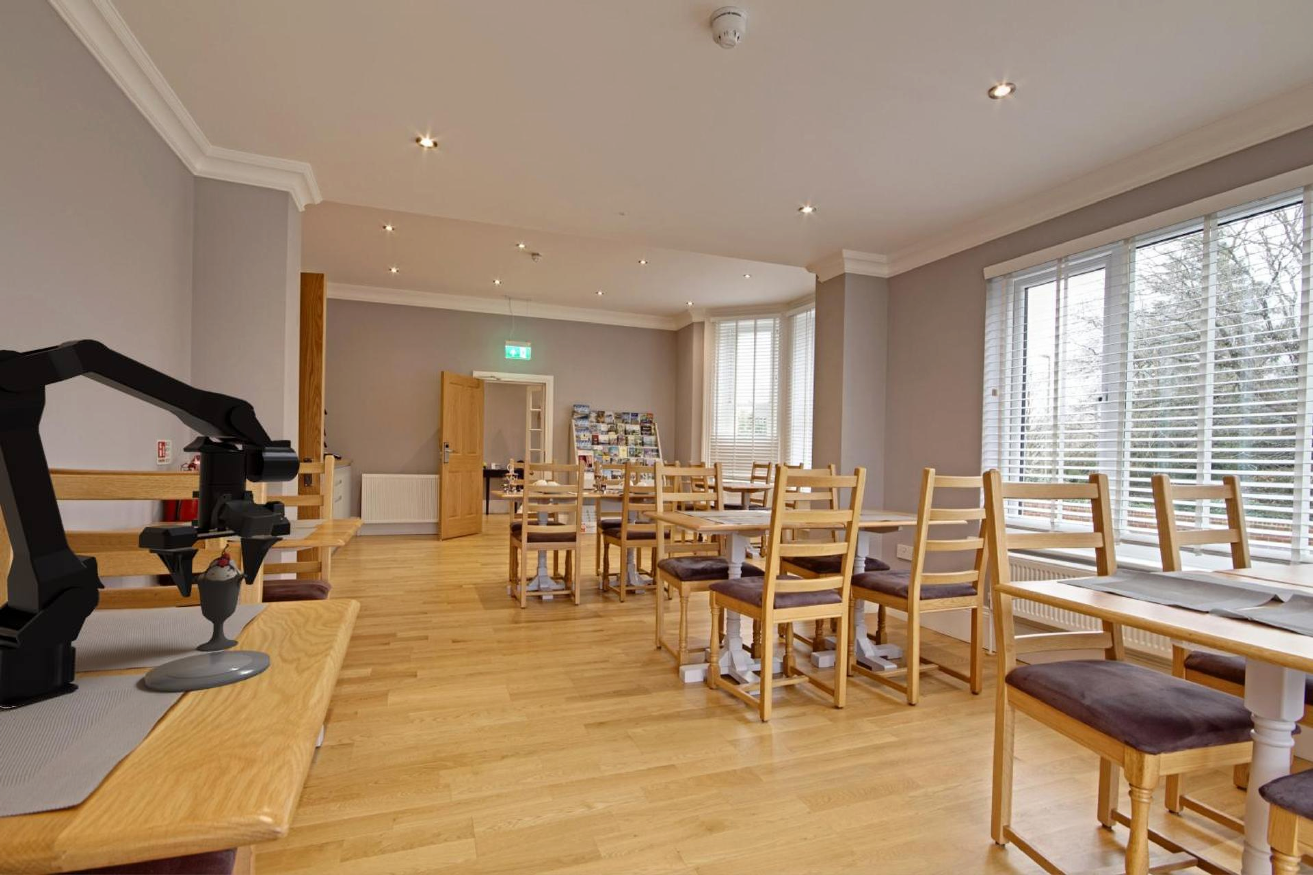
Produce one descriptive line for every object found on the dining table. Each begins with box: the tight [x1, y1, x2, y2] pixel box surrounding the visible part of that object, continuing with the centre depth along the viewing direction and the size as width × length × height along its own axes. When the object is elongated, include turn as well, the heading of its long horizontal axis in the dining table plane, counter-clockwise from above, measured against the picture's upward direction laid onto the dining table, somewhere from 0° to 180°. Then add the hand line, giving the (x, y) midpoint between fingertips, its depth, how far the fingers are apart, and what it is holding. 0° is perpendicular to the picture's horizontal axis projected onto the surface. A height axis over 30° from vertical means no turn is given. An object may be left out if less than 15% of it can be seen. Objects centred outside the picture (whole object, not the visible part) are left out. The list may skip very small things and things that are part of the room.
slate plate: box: [144, 649, 271, 692], centre depth 80 cm, size 13×13×1 cm
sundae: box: [192, 543, 247, 652], centre depth 91 cm, size 7×7×15 cm
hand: (219, 590), depth 91 cm, fingers open, 9 cm apart
